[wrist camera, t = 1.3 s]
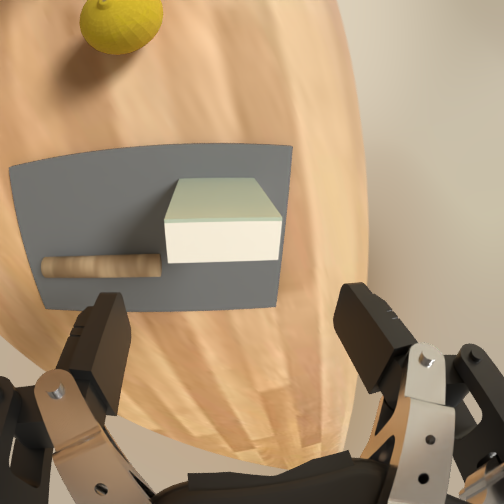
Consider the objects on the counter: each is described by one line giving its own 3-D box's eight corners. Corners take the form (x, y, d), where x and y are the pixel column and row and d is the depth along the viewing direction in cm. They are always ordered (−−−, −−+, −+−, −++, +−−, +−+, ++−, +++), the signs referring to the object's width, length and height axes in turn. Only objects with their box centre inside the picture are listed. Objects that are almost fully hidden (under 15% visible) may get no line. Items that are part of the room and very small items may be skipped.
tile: (179, 178, 21) (164, 219, 14) (254, 177, 22) (282, 217, 14) (180, 208, 23) (168, 263, 15) (252, 206, 23) (278, 259, 16)
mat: (12, 166, 18) (8, 167, 17) (290, 145, 22) (292, 146, 22) (47, 305, 25) (45, 308, 25) (274, 303, 29) (275, 306, 29)
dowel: (47, 253, 22) (38, 263, 20) (160, 249, 24) (157, 260, 22) (52, 270, 23) (44, 281, 21) (162, 269, 25) (159, 281, 23)
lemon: (111, 73, 17) (69, 58, 10) (98, 21, 14) (57, -8, 7) (176, 46, 17) (162, 14, 10) (161, -5, 14) (143, -49, 7)
